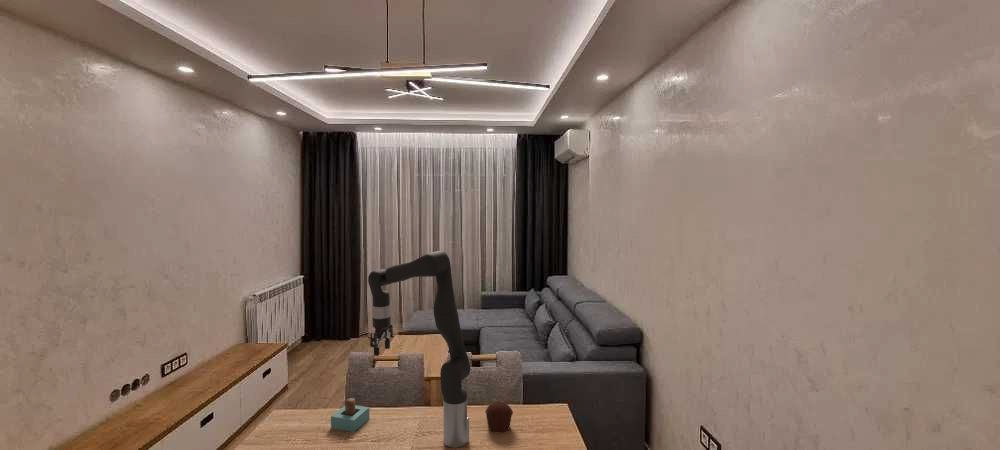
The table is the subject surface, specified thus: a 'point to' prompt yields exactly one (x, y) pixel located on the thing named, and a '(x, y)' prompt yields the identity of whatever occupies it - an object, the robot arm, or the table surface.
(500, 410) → the muffin
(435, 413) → the table surface
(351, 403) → the peg
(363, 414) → the socket block
